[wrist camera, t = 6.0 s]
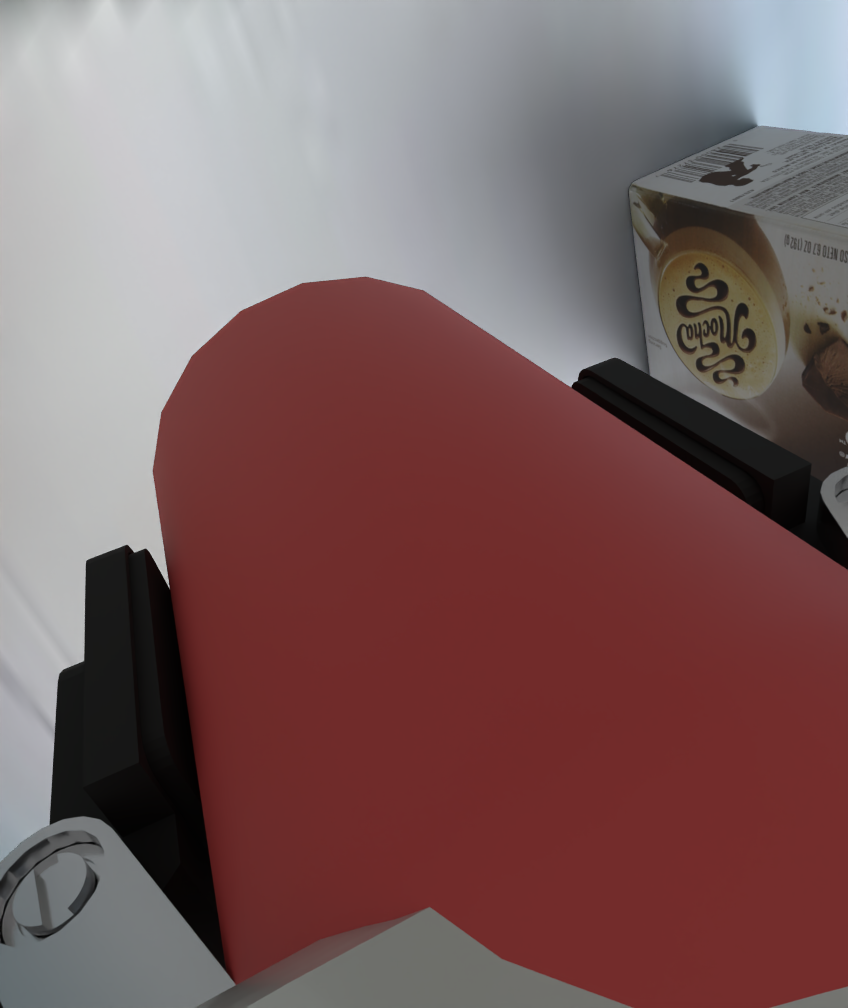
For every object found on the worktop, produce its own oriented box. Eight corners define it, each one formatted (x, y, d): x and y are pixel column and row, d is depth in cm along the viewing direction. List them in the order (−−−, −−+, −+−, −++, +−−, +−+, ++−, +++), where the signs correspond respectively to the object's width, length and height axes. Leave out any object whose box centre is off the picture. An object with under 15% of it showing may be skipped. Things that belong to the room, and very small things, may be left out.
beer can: (511, 531, 16) (1121, 1200, 7) (219, 639, 15) (455, 1702, 5) (476, 225, 13) (1722, 719, 3) (85, 329, 11) (26, 1982, 1)
